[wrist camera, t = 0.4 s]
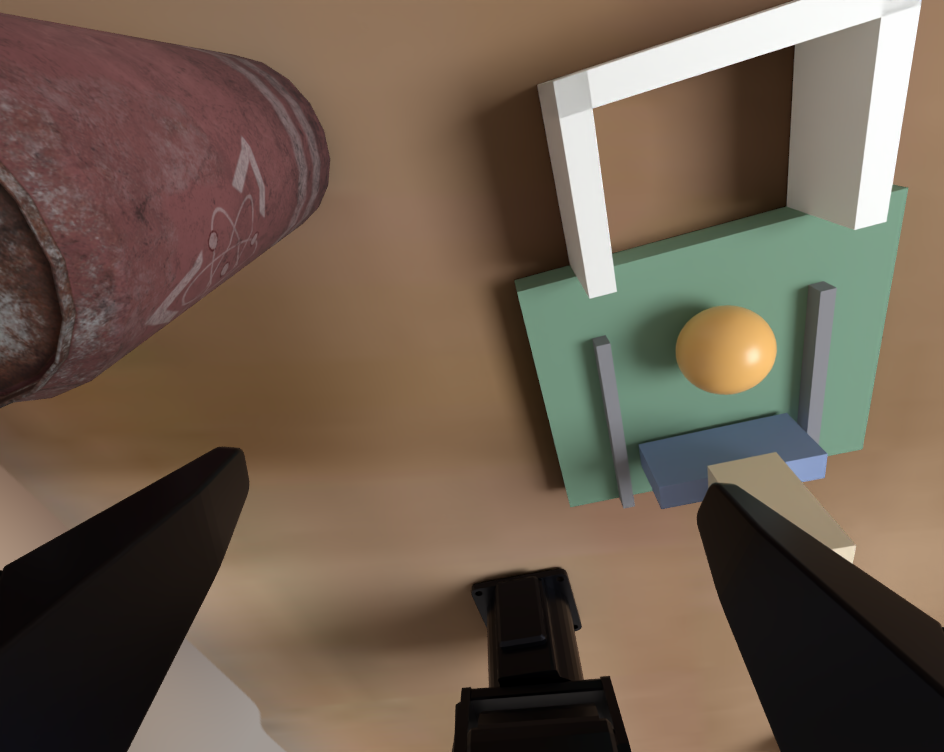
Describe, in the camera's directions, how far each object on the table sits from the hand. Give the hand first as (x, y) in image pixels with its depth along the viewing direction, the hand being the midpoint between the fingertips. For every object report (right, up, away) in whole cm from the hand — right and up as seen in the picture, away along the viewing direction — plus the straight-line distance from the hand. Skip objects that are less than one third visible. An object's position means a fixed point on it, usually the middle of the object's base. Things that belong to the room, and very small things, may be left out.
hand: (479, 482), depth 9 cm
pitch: (+11, +3, +14) cm, 18 cm away
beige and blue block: (+12, -1, +14) cm, 18 cm away
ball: (+10, +3, +10) cm, 14 cm away
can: (-9, +11, +9) cm, 17 cm away
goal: (+8, +11, +9) cm, 16 cm away
